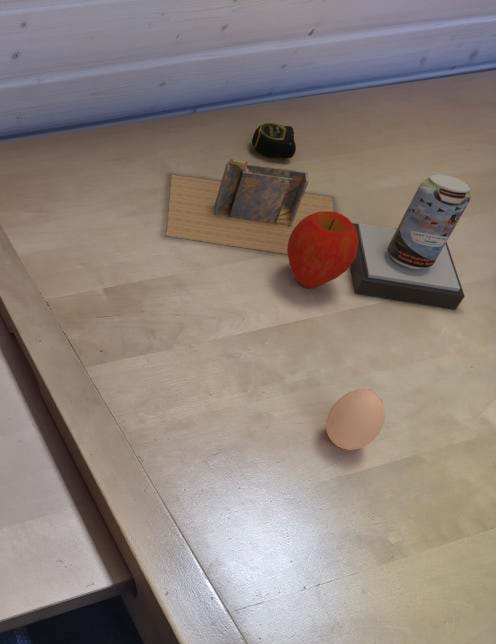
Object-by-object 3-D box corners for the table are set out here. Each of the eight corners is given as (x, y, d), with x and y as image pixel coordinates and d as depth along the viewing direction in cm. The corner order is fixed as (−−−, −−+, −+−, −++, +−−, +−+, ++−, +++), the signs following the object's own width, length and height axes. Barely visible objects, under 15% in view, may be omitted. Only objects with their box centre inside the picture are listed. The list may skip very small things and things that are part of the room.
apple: (281, 256, 101) (307, 191, 93) (342, 274, 99) (374, 209, 91) (268, 291, 96) (294, 226, 88) (332, 312, 93) (365, 246, 85)
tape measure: (291, 165, 117) (298, 145, 115) (249, 159, 118) (255, 138, 116) (289, 144, 122) (297, 124, 119) (249, 138, 123) (255, 118, 120)
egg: (369, 465, 77) (402, 418, 71) (319, 457, 77) (348, 410, 71) (361, 427, 80) (393, 379, 74) (314, 419, 81) (341, 371, 75)
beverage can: (383, 269, 95) (425, 192, 86) (383, 237, 100) (422, 162, 91) (433, 280, 94) (480, 204, 85) (430, 248, 99) (475, 173, 90)
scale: (437, 250, 103) (447, 233, 101) (456, 309, 95) (468, 293, 92) (345, 236, 105) (353, 219, 103) (355, 293, 96) (364, 276, 94)
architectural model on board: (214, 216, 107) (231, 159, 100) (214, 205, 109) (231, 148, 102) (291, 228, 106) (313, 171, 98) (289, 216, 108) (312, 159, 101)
